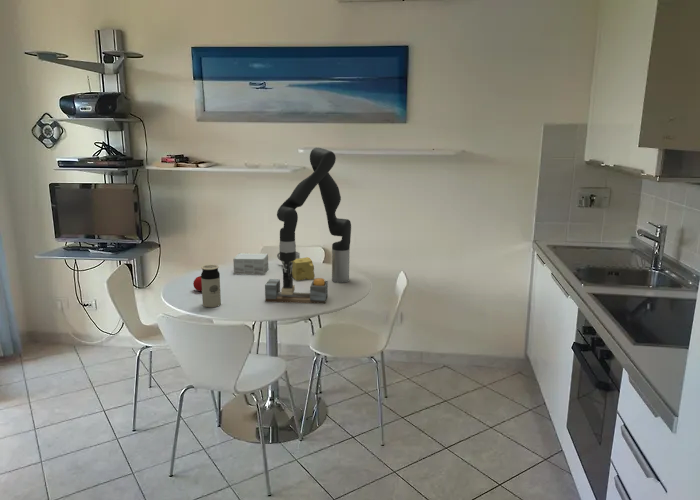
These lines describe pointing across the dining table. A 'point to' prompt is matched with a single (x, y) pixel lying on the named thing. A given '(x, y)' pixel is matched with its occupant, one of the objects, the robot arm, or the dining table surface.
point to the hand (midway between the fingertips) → (288, 285)
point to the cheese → (303, 269)
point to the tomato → (198, 284)
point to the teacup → (296, 256)
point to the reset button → (319, 282)
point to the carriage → (289, 289)
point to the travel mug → (210, 286)
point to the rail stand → (315, 296)
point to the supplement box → (250, 264)
